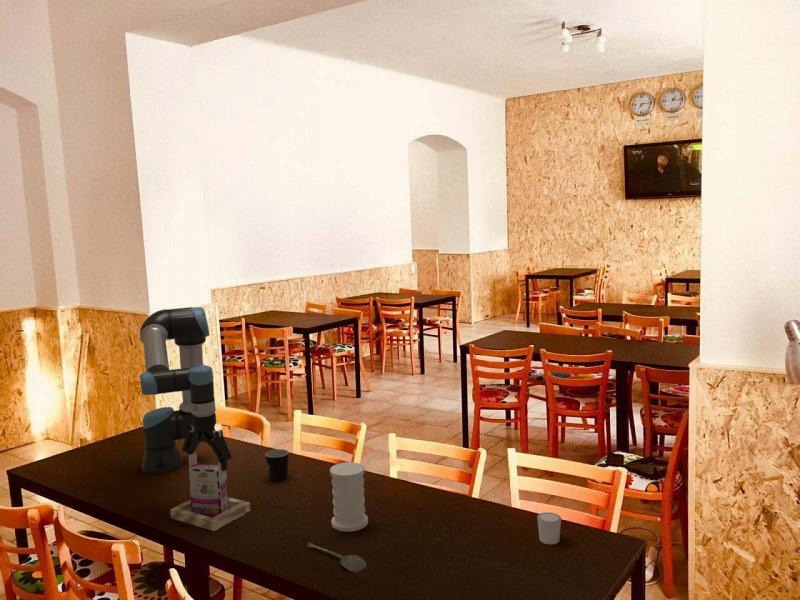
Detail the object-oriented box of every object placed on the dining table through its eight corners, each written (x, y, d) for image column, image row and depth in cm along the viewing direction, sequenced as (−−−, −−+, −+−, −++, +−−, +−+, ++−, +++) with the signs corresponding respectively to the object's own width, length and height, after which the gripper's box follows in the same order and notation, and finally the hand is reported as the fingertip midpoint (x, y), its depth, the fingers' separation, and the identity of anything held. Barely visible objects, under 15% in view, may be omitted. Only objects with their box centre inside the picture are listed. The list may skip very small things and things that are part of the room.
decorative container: (334, 534, 202) (332, 477, 200) (328, 518, 213) (326, 464, 211) (371, 528, 205) (369, 472, 203) (363, 512, 216) (361, 459, 214)
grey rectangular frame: (171, 518, 217) (170, 509, 217) (208, 499, 230) (207, 491, 230) (214, 531, 207) (213, 522, 206) (250, 511, 220) (249, 502, 220)
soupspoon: (354, 579, 178) (371, 570, 183) (354, 567, 178) (371, 558, 183) (300, 551, 192) (317, 543, 197) (301, 540, 192) (317, 533, 197)
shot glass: (556, 547, 189) (556, 524, 188) (534, 542, 193) (533, 519, 192) (564, 537, 195) (564, 514, 194) (542, 532, 198) (542, 510, 198)
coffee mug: (287, 483, 243) (286, 457, 242) (264, 483, 243) (263, 457, 242) (293, 471, 254) (292, 446, 253) (271, 471, 255) (269, 446, 253)
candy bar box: (229, 512, 220) (225, 465, 218) (221, 519, 215) (218, 470, 213) (199, 510, 223) (195, 463, 221) (191, 516, 218) (187, 468, 216)
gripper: (168, 411, 218) (173, 473, 220) (222, 422, 205) (227, 487, 208) (186, 405, 224) (190, 465, 227) (240, 415, 211) (244, 478, 214)
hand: (208, 476), depth 217 cm, fingers open, 13 cm apart
